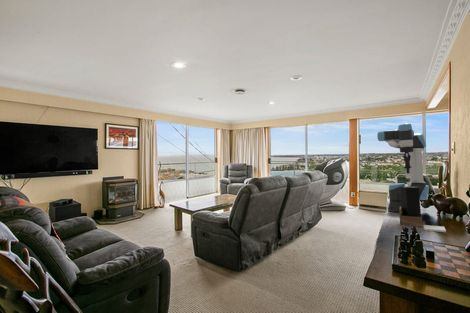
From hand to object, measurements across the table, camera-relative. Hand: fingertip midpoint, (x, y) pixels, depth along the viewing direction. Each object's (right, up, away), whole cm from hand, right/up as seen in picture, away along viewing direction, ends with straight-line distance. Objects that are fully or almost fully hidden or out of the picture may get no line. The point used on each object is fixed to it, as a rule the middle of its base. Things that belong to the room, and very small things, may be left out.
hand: (408, 177), depth 162 cm
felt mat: (+4, -30, -16) cm, 34 cm away
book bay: (+2, -31, -1) cm, 31 cm away
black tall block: (+2, -31, -1) cm, 31 cm away
